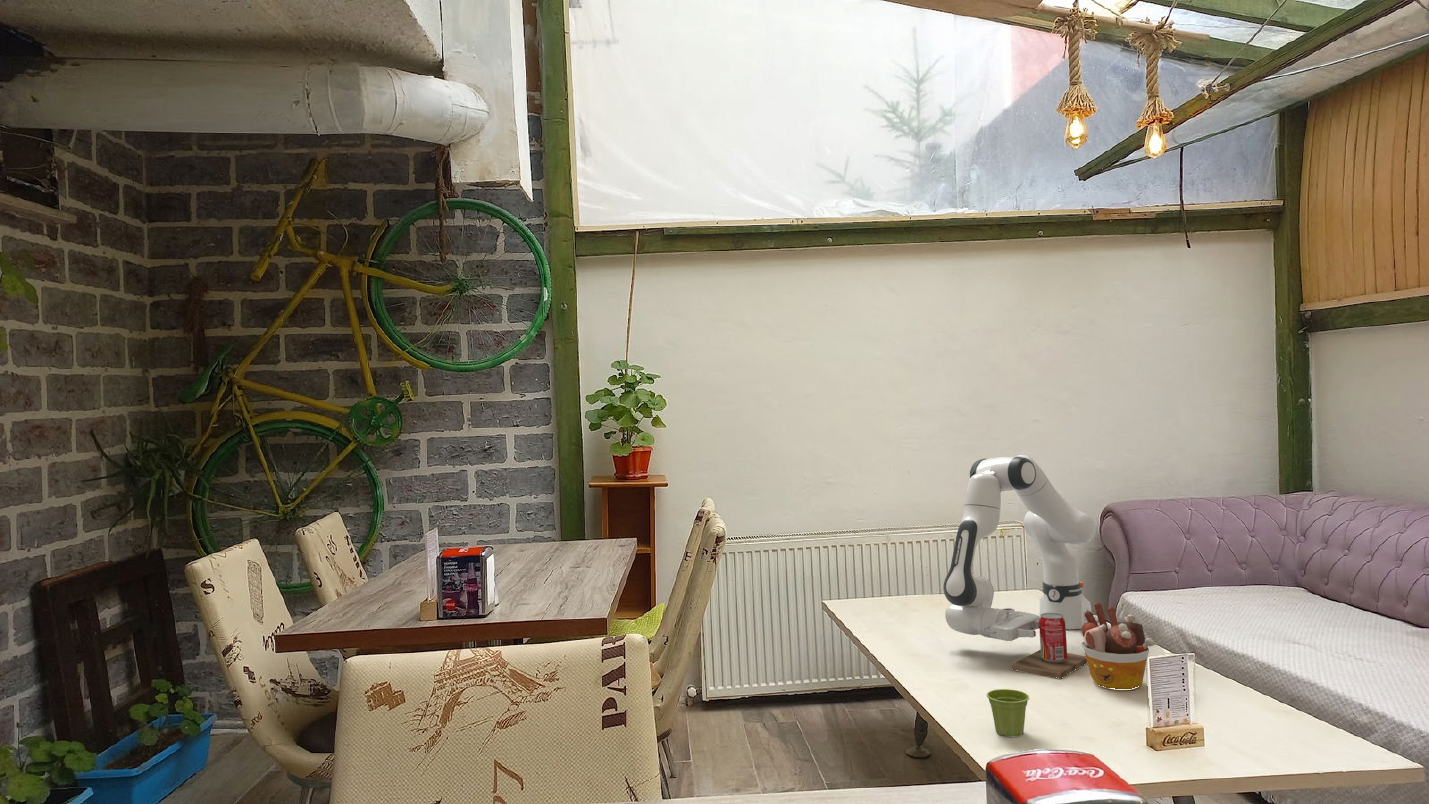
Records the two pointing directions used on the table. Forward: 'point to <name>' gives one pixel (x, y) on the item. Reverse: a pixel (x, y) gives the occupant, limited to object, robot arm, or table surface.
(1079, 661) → the walnut board
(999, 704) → the plant pot
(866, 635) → the table surface
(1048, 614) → the soda can
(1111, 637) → the bucket of meat
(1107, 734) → the table surface
